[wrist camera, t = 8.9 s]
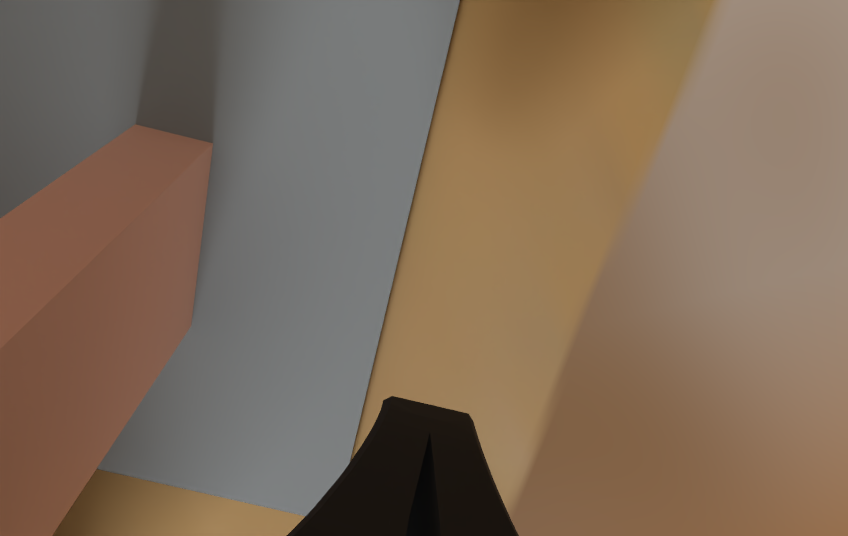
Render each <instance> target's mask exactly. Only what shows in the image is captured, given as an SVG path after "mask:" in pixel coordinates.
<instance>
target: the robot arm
mask: <svg viewBox="0 0 848 536" xmlns="http://www.w3.org/2000/svg"><path fill="white" fill-rule="evenodd" d="M287 536H519V535H518V533H517V532H516V530H515V527H514V525H513V523H512V521H511V519H510V517H509V514H508V512H507V510H506V508H505V505H504V503H503V501H502V499H501V496H500V494H499V492H498V490H497V487H496V485H495V482H494V480H493V478H492V475H491V472H490V470H489V467H488V465H487V462H486V459H485V457H484V454H483V451H482V448H481V445H480V442H479V439H478V436H477V433H476V429H475V426H474V422H473V420H472V419H471V417H470V415H469V414H467V413H463V412H459V411H454V410H450V409H446V408H441V407H437V406H433V405H428V404H424V403H420V402H415V401H411V400H407V399H403V398H398V397H394V396H391V397H389V398H387V399H385V400H383V404H382V408H381V411H380V413H379V415H378V418H377V420H376V422H375V424H374V426H373V428H372V429H371V431H370V433H369V434H368V436H367V438H366V439H365V441H364V443H363V444H362V446H361V447H360V449H359V450H358V452H357V453H356V455H355V456H354V457H353V459H352V460H351V462H350V463H349V464H348V466H347V467H346V469H345V470H344V472H343V473H342V474H341V475H340V477H339V478H338V479H337V480H336V482H335V483H334V484H333V485H332V486H331V488H330V489H329V490H328V491H327V492H326V494H325V495H324V496H323V497H322V498H321V500H320V501H319V502H318V503H317V504H316V506H315V507H314V508H313V509H312V510H311V511H310V512H309V513H308V514H307V515H306V516H305V518H304V519H303V520H302V521H301V522H300V523H299V524H298V525H297V526H296V527H295V528H294V529H293V530H292V531H291V532H290V533H289V534H288V535H287Z"/></svg>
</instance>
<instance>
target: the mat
mask: <svg viewBox="0 0 848 536" xmlns="http://www.w3.org/2000/svg"><path fill="white" fill-rule="evenodd" d="M459 2H460V0H0V218H2V217H3V216H5V215H6V214H7V213H9V212H10V211H12V210H13V209H15V208H16V207H17V206H19V205H20V204H22V203H23V202H25V201H26V200H27V199H29V198H30V197H32V196H33V195H35V194H36V193H38V192H39V191H40V190H42V189H43V188H45V187H46V186H48V185H49V184H50V183H52V182H53V181H55V180H56V179H58V178H59V177H60V176H62V175H63V174H65V173H66V172H68V171H69V170H70V169H72V168H73V167H75V166H76V165H78V164H79V163H80V162H82V161H83V160H85V159H86V158H88V157H89V156H91V155H92V154H93V153H95V152H96V151H98V150H99V149H101V148H102V147H103V146H105V145H106V144H108V143H109V142H111V141H112V140H113V139H115V138H116V137H118V136H119V135H121V134H122V133H123V132H125V131H126V130H128V129H129V128H131V127H132V126H133V125H135V124H136V125H140V126H144V127H148V128H152V129H156V130H160V131H164V132H168V133H173V134H177V135H181V136H185V137H189V138H193V139H197V140H201V141H205V142H209V143H213V148H212V157H211V165H210V173H209V182H208V190H207V198H206V206H205V215H204V223H203V231H202V240H201V248H200V256H199V264H198V273H197V281H196V289H195V298H194V306H193V314H192V323H191V327H190V328H189V330H188V332H187V333H186V335H185V336H184V338H183V339H182V341H181V342H180V344H179V345H178V347H177V348H176V350H175V351H174V353H173V354H172V356H171V357H170V359H169V360H168V362H167V363H166V365H165V366H164V368H163V369H162V371H161V372H160V374H159V375H158V377H157V378H156V380H155V381H154V383H153V384H152V386H151V387H150V389H149V390H148V392H147V393H146V395H145V396H144V398H143V399H142V401H141V402H140V404H139V405H138V407H137V408H136V410H135V411H134V413H133V414H132V416H131V418H130V419H129V421H128V422H127V424H126V425H125V427H124V428H123V430H122V431H121V433H120V434H119V436H118V437H117V439H116V440H115V442H114V443H113V445H112V446H111V448H110V449H109V451H108V452H107V454H106V455H105V457H104V458H103V460H102V461H101V463H100V464H99V466H98V467H97V469H99V470H104V471H108V472H113V473H117V474H121V475H126V476H130V477H135V478H139V479H143V480H148V481H152V482H157V483H161V484H166V485H170V486H174V487H179V488H183V489H188V490H192V491H197V492H201V493H205V494H210V495H214V496H219V497H223V498H227V499H232V500H236V501H241V502H245V503H250V504H254V505H258V506H263V507H267V508H272V509H276V510H281V511H285V512H289V513H294V514H298V515H303V516H306V515H307V514H308V513H309V512H310V511H311V510H312V509H313V508H314V507H315V506H316V504H317V503H318V502H319V501H320V500H321V498H322V497H323V496H324V495H325V494H326V492H327V491H328V490H329V489H330V488H331V486H332V485H333V484H334V483H335V482H336V480H337V479H338V478H339V477H340V475H341V474H342V473H343V472H344V470H345V469H346V467H347V466H348V464H349V463H350V459H351V455H352V451H353V446H354V442H355V438H356V434H357V430H358V425H359V421H360V417H361V413H362V409H363V404H364V400H365V396H366V392H367V388H368V383H369V379H370V375H371V371H372V367H373V362H374V358H375V354H376V350H377V346H378V342H379V337H380V333H381V329H382V325H383V321H384V316H385V312H386V308H387V304H388V300H389V295H390V291H391V287H392V283H393V279H394V274H395V270H396V266H397V262H398V258H399V253H400V249H401V245H402V241H403V237H404V233H405V228H406V224H407V220H408V216H409V212H410V207H411V203H412V199H413V195H414V191H415V186H416V182H417V178H418V174H419V170H420V165H421V161H422V157H423V153H424V149H425V144H426V140H427V136H428V132H429V128H430V124H431V119H432V115H433V111H434V107H435V103H436V98H437V94H438V90H439V86H440V82H441V77H442V73H443V69H444V65H445V61H446V56H447V52H448V48H449V44H450V40H451V35H452V31H453V27H454V23H455V19H456V15H457V10H458V6H459Z"/></svg>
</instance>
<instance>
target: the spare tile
mask: <svg viewBox="0 0 848 536" xmlns="http://www.w3.org/2000/svg"><path fill="white" fill-rule="evenodd" d="M212 148H213V143H209V142H205V141H201V140H197V139H193V138H189V137H185V136H181V135H177V134H173V133H168V132H164V131H160V130H156V129H152V128H148V127H144V126H140V125H136V124H135V125H133V126H132V127H131V128H129V129H128V130H126V131H125V132H123V133H122V134H121V135H119V136H118V137H116V138H115V139H113V140H112V141H111V142H109V143H108V144H106V145H105V146H103V147H102V148H101V149H99V150H98V151H96V152H95V153H93V154H92V155H91V156H89V157H88V158H86V159H85V160H83V161H82V162H80V163H79V164H78V165H76V166H75V167H73V168H72V169H70V170H69V171H68V172H66V173H65V174H63V175H62V176H60V177H59V178H58V179H56V180H55V181H53V182H52V183H50V184H49V185H48V186H46V187H45V188H43V189H42V190H40V191H39V192H38V193H36V194H35V195H33V196H32V197H30V198H29V199H27V200H26V201H25V202H23V203H22V204H20V205H19V206H17V207H16V208H15V209H13V210H12V211H10V212H9V213H7V214H6V215H5V216H3V217H2V218H0V536H52V535H53V534H54V532H55V531H56V529H57V528H58V526H59V525H60V523H61V522H62V520H63V519H64V517H65V516H66V514H67V513H68V511H69V510H70V508H71V507H72V505H73V503H74V502H75V500H76V499H77V497H78V496H79V494H80V493H81V491H82V490H83V488H84V487H85V485H86V484H87V482H88V481H89V479H90V478H91V476H92V475H93V473H94V472H95V470H96V469H97V467H98V466H99V464H100V463H101V461H102V460H103V458H104V457H105V455H106V454H107V452H108V451H109V449H110V448H111V446H112V445H113V443H114V442H115V440H116V439H117V437H118V436H119V434H120V433H121V431H122V430H123V428H124V427H125V425H126V424H127V422H128V421H129V419H130V418H131V416H132V414H133V413H134V411H135V410H136V408H137V407H138V405H139V404H140V402H141V401H142V399H143V398H144V396H145V395H146V393H147V392H148V390H149V389H150V387H151V386H152V384H153V383H154V381H155V380H156V378H157V377H158V375H159V374H160V372H161V371H162V369H163V368H164V366H165V365H166V363H167V362H168V360H169V359H170V357H171V356H172V354H173V353H174V351H175V350H176V348H177V347H178V345H179V344H180V342H181V341H182V339H183V338H184V336H185V335H186V333H187V332H188V330H189V328H190V327H191V323H192V314H193V306H194V298H195V289H196V281H197V273H198V264H199V256H200V248H201V240H202V231H203V223H204V215H205V206H206V198H207V190H208V182H209V173H210V165H211V157H212Z"/></svg>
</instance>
